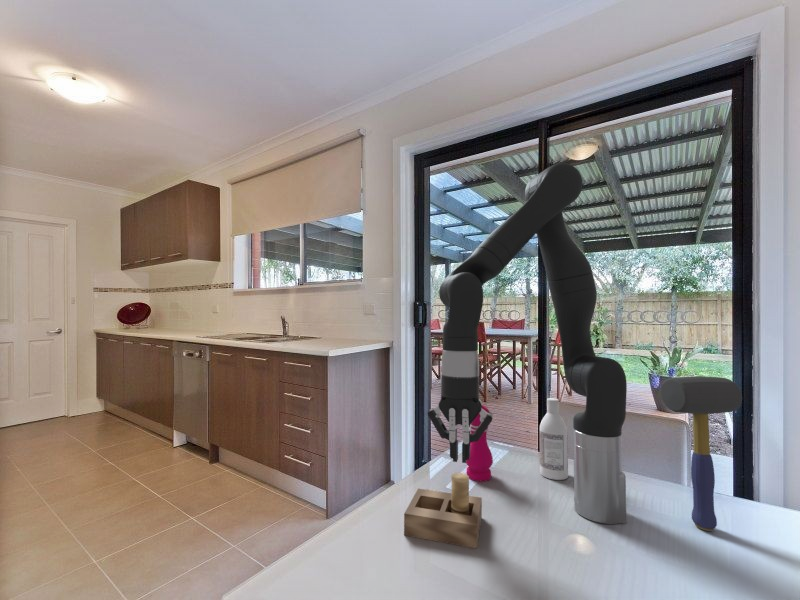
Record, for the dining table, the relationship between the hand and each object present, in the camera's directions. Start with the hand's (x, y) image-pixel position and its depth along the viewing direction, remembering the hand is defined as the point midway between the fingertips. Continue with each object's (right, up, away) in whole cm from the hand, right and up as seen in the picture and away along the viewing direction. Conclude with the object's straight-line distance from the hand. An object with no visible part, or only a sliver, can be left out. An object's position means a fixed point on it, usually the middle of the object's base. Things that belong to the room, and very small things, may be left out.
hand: (459, 460), depth 74 cm
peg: (0, -13, -1) cm, 13 cm away
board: (-3, -13, 0) cm, 13 cm away
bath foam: (+29, -15, +25) cm, 41 cm away
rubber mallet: (+49, -14, 0) cm, 51 cm away
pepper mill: (+9, -15, +24) cm, 29 cm away
